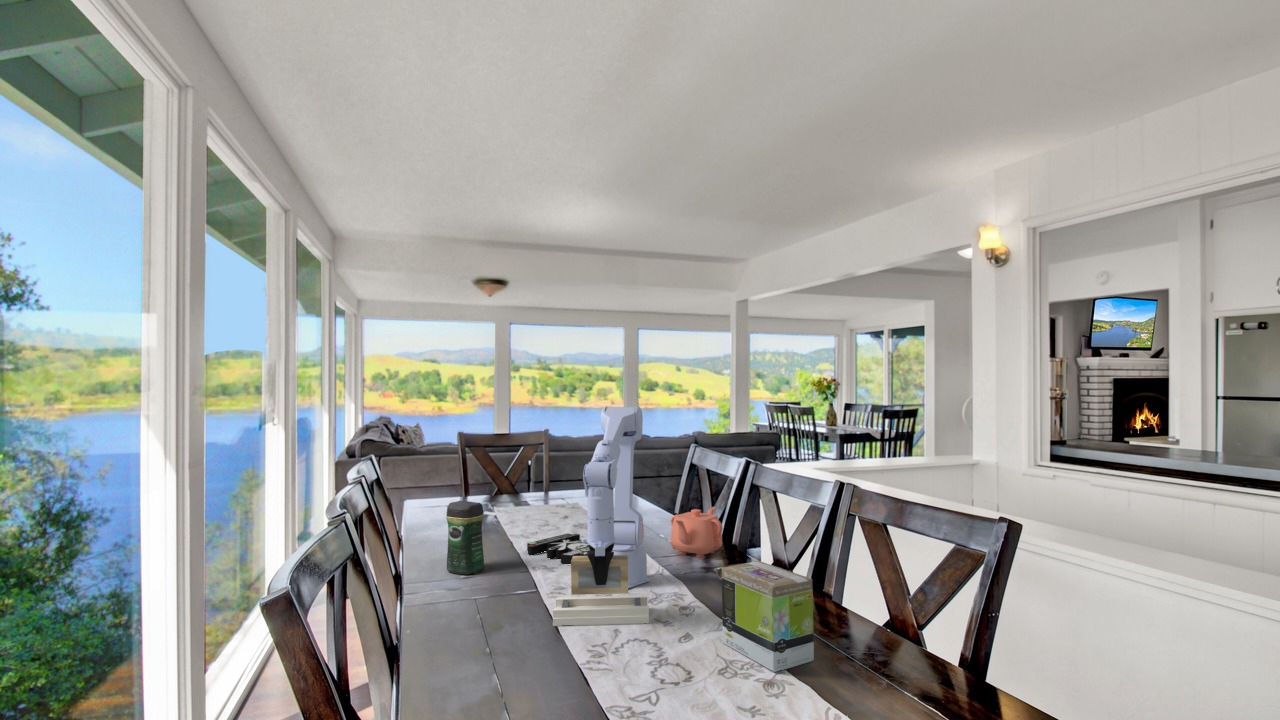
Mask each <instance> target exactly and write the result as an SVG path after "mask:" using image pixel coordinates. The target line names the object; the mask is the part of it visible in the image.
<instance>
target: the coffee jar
mask: <svg viewBox="0 0 1280 720" xmlns="http://www.w3.org/2000/svg"><path fill="white" fill-rule="evenodd" d="M483 507H484V506H483V504H482V503H481V502H476V501H468V500H467V501H466V500H457V501H452V502H449V504H448V505H447V507H446V523H447V529H448V532H447V533H448V535H447V536H448V537H447V538H448V539H447V554H446V556H447V557H446V570H447V572H448V573H452V574H458V575H469V574H477V573H479V572H481V571H482V570H483V569H484V568H485V557H484V555H485V554H484V548H483V547H484V546H483V530H482V529H483V528H482V527H483V522H484V521H483V520H484V516H485V514H484V508H483Z"/></svg>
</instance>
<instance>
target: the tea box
mask: <svg viewBox="0 0 1280 720" xmlns="http://www.w3.org/2000/svg"><path fill="white" fill-rule="evenodd" d="M739 564H740V565H734V566H729V567H725V566H723V568H722V567H721V568H722V582H721V610H722V612H721V615H722V616H721V619H722V620H721V621H722V626H721V627H722V644H724V645H726V646H728V647H729V648H731V649H732V650H735V651H737V652H738V653H740V654H742V655H743V656H745V657H747V658H749V659H751V660H752V661H754V662H756V663H758V664H760V665H761V666H763V667H764V668H766V669H768V670H770V671H771V672H774V673H776V672H780V670H781V671H784V669H785V670H788V669H791V668H795V667H798V666H801V665H803V664H808V663H810V662H813V661H814V658H815V657H814V656H815V644H814V643H815V642H814V641H815V639H814V638H815V636H814V599H813V598H814V597H813V596H814V595H813V594H814V593H813V592H814V591H813V579H812V578H810V577H808V576H804V575H802V574H799V573H796V572H793V571H789V570H787V569H784V568H782V567H778V566H775V565H773V564H769V563H766V562H764V561H761V560H756V561H750V562H745V563H739Z"/></svg>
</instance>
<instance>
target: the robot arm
mask: <svg viewBox="0 0 1280 720" xmlns="http://www.w3.org/2000/svg"><path fill="white" fill-rule="evenodd" d="M643 419H644V418H643V410H642V408H641V407H640V406H604V407H603V408H602V409H601V412H600V426H601V429H602V431H603V433H604V434H603V439H602V440H600V441H598V442H597V445H596V447H595V449H594V452H593V456H592V458H591V461H589V462H588V463H586V464H585V465H584V468H583V472H582V476H583V478H582V481H583V486H584V495H585V497H586V504H587V505H586V507H587V508H586V509H587V510H586V511H587V513H586V515H587V516H586V517H587V518H586V519H587V521H586V522H587V526H586V527H587V536H585V537H582V538H581V539H582V542H583V543H588V544H589V546H588V547H589V549H590V551H587V556H588V558H589V560H590V562H591V565H592V568H593V573H594V579H595V583H596V585H606V582H607V577H608V570H609V565H610V562H611V559H612V557H613V555H628V589H631V588H633V587H636V586H639V585H642V584H646V583H647V582H650V579H649V578H647V577H648V568H647V567H648V566H647V563H648V562H647V561H648V560H647V559H648V558H647V552H646V550H645V548H644V546H642V545H643V543H644V538H645V537H644V536H645V534H644V533H645V530H644V529H645V528H644V518H643V516H642V514H641V513H640V512H639V511H638V510H637V509H635V508H634V507H633V490H634V458H635V457H634V451H635V446H636V442H638V441H640V440H642V436H643ZM617 519H619V520H617ZM620 519H622V520H620Z"/></svg>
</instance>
